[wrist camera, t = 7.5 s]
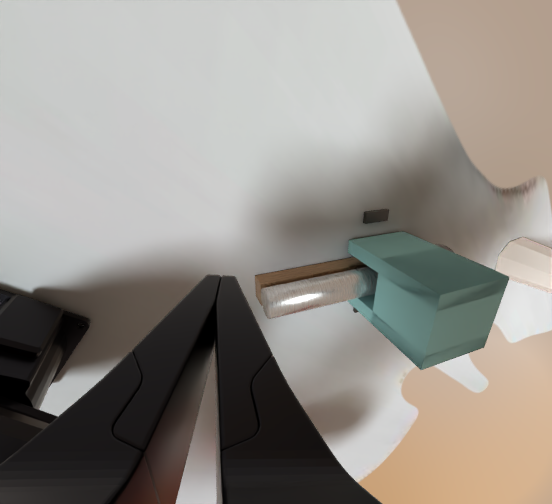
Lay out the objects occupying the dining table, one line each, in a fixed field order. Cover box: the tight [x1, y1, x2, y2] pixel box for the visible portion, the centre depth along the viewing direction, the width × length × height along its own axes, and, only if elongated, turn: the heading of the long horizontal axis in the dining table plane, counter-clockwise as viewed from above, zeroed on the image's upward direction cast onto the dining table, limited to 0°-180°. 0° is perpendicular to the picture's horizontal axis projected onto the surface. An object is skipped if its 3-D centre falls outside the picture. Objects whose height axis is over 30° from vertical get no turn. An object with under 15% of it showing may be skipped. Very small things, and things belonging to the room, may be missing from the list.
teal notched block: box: [347, 231, 509, 370], centre depth 23 cm, size 6×6×10 cm
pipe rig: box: [255, 209, 454, 319], centre depth 24 cm, size 18×11×5 cm, turn 91°
